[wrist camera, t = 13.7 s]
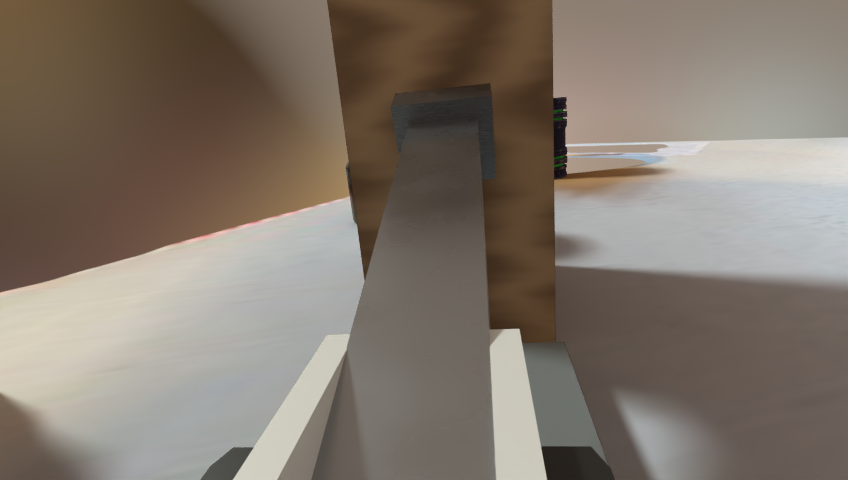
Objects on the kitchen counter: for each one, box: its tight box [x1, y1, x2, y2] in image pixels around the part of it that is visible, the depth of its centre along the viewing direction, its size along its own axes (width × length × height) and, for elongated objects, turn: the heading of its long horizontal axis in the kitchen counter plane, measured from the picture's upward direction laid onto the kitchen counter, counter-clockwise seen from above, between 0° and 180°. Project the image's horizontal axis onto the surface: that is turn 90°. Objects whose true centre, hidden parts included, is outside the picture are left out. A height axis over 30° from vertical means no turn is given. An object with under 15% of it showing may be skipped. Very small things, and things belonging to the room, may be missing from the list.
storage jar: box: [553, 97, 567, 179], centre depth 91 cm, size 10×10×15 cm
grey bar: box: [311, 83, 496, 480], centre depth 15 cm, size 5×26×4 cm, turn 173°
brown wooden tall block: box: [327, 0, 556, 343], centre depth 33 cm, size 12×16×33 cm
